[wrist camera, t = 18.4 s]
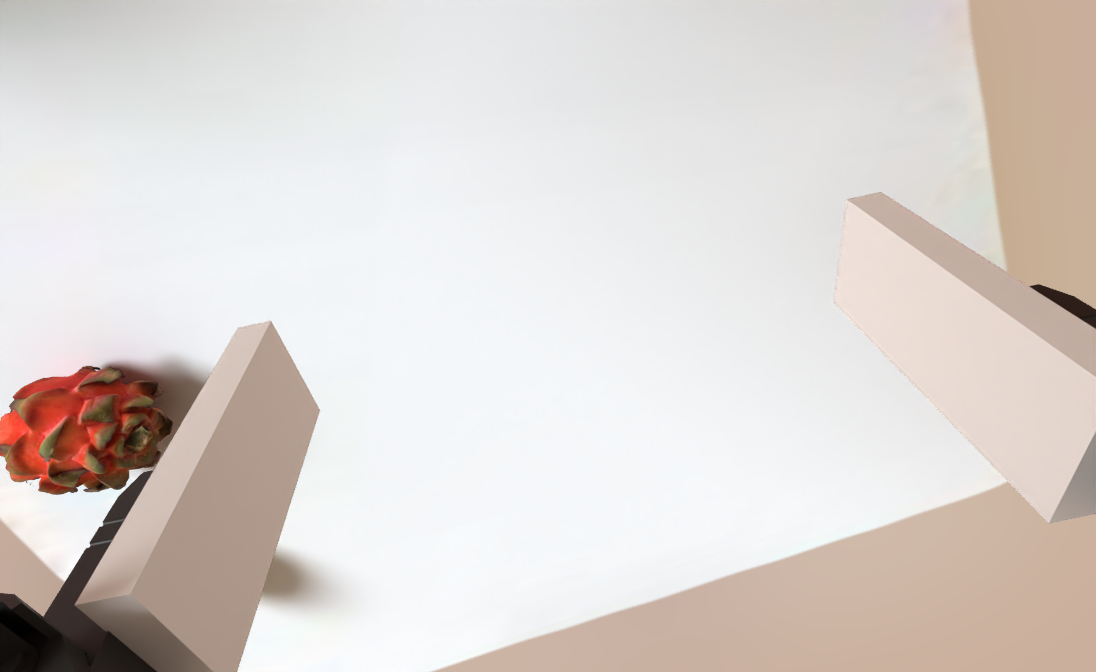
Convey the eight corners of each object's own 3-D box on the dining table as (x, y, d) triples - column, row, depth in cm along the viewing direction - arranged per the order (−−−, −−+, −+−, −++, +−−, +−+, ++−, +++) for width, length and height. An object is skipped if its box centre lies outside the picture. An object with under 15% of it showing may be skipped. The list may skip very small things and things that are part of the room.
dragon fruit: (212, 371, 44) (92, 415, 46) (99, 320, 37) (-35, 376, 39) (197, 482, 40) (66, 524, 42) (66, 450, 32) (-82, 503, 35)
